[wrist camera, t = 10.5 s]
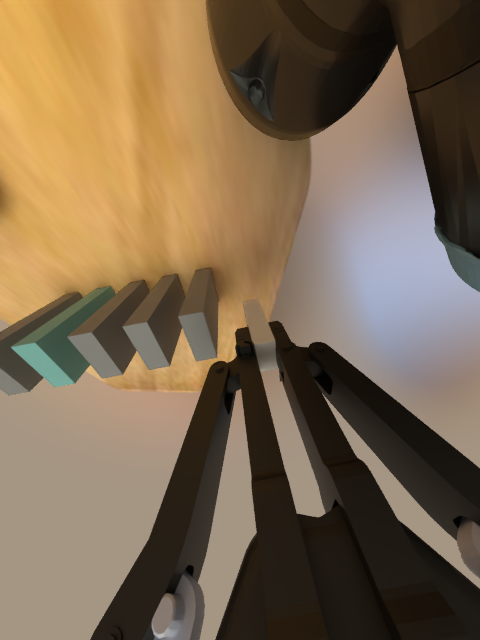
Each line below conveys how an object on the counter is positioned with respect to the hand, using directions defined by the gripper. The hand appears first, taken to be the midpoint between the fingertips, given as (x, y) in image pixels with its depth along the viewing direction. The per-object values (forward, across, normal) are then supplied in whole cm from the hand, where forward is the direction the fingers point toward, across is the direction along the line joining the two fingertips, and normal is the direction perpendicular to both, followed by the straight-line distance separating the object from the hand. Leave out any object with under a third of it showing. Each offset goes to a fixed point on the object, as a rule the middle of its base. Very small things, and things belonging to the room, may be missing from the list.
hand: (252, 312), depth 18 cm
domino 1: (+9, +14, 0) cm, 17 cm away
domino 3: (+9, +5, 0) cm, 10 cm away
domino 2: (+9, +10, 0) cm, 13 cm away
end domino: (+9, +23, 0) cm, 25 cm away
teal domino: (+9, +19, 0) cm, 21 cm away
